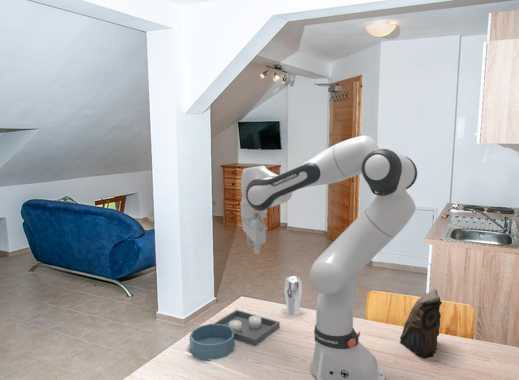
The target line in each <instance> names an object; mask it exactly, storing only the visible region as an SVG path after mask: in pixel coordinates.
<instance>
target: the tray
mask: <svg viewBox="0 0 519 380" xmlns="http://www.w3.org/2000/svg"><path fill="white" fill-rule="evenodd" d="M251 316H258V315H256V314H253V313H250V312H247V311H243V310H239V309H234V310H233V311H232V312H230V313H228V314H226V315H225V316H223V317H222V318H219V320H217V321H215V322H213V324H223V325H226V326H229V322H230V321H232V320H239V321H241V322H242V332H241V333H237V332H235V341H238V342H239V341H240V342H242V343H246V344H249V345H252V346H255V347H256V346H258V345H259V344H260V343H261V342H263V341H264V340H265V339H267V338H268V337H269V336H271V335H272V334H273V333H274V332H276V331H278V329H280V321H277V320H274V319H271V318H267V317H263V316H260V317H261V328H260V329H257V330H253V329H250V328H249V317H251Z"/></svg>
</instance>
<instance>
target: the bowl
mask: <svg viewBox="0 0 519 380" xmlns="http://www.w3.org/2000/svg"><path fill="white" fill-rule="evenodd" d="M235 346H236V339H235V332H234V330H233V329H232V328H231V327H229V326H226V325H223V324H214V323H207V324H203V325H199V326H198V327H196V328H194V329H192V330H191V333H190V334H189V350H190V351H191V355H192V356H193V358H195V359H197V360H200V361H202V362H203V361H204V362H208V361H209V362H210V361H211V359H213V360H215V359H219V358H220V359H221V358H223V357H226V356H228V355H229V354H231V353H233V351H234V349H235Z"/></svg>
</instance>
